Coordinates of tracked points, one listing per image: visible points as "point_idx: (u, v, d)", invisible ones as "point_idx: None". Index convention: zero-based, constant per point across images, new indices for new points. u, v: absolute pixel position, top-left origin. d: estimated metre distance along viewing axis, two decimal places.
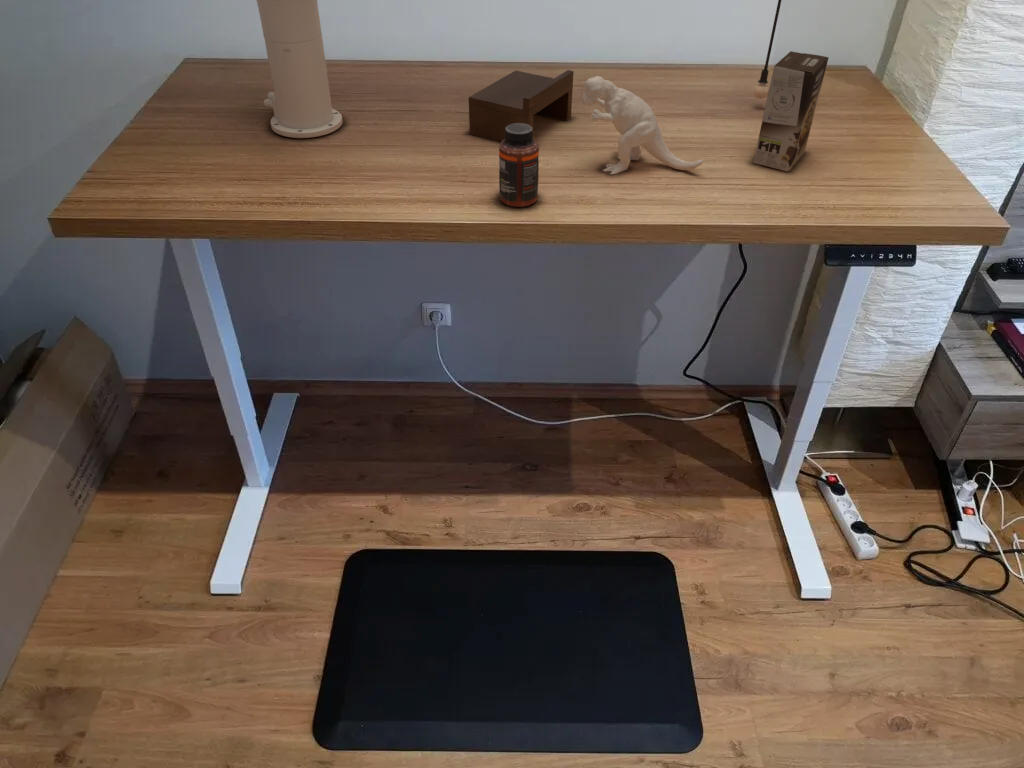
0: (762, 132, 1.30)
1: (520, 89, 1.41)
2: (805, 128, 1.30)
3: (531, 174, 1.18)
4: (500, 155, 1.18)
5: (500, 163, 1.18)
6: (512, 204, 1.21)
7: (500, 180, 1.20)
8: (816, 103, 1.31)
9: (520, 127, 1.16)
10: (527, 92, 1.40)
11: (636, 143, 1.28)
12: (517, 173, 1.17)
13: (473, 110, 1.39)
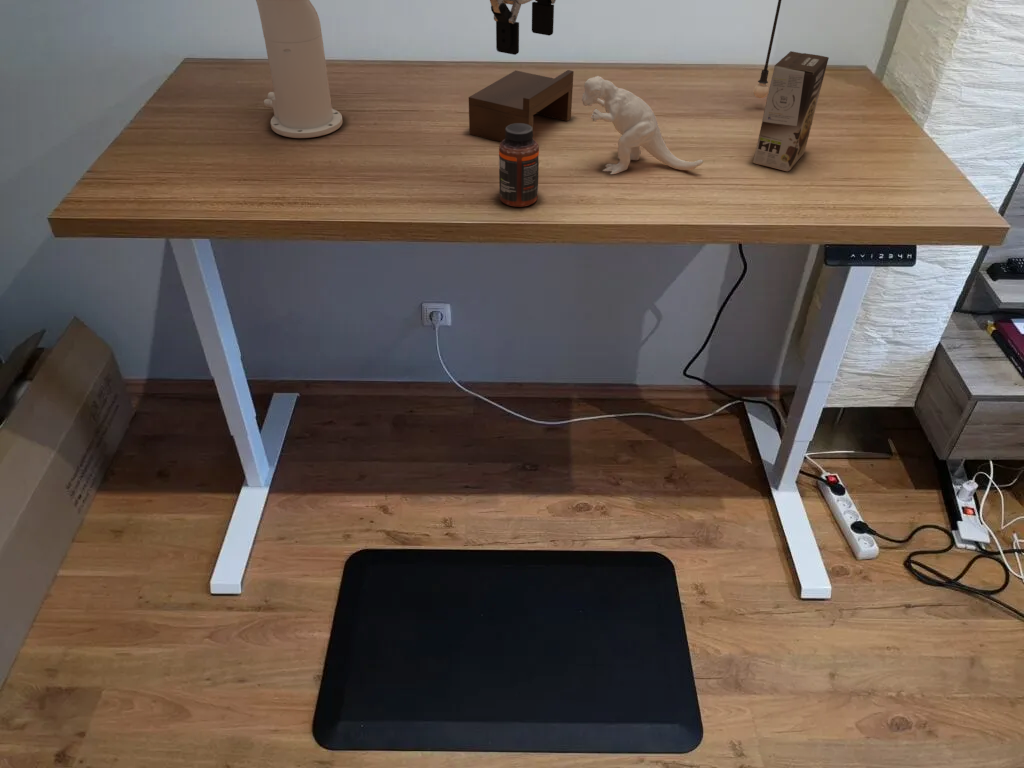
0: (762, 132, 1.30)
1: (520, 89, 1.41)
2: (805, 128, 1.30)
3: (531, 174, 1.18)
4: (500, 155, 1.18)
5: (500, 163, 1.18)
6: (512, 204, 1.21)
7: (500, 180, 1.20)
8: (816, 103, 1.31)
9: (520, 127, 1.16)
10: (527, 92, 1.40)
11: (636, 143, 1.28)
12: (517, 173, 1.17)
13: (473, 110, 1.39)
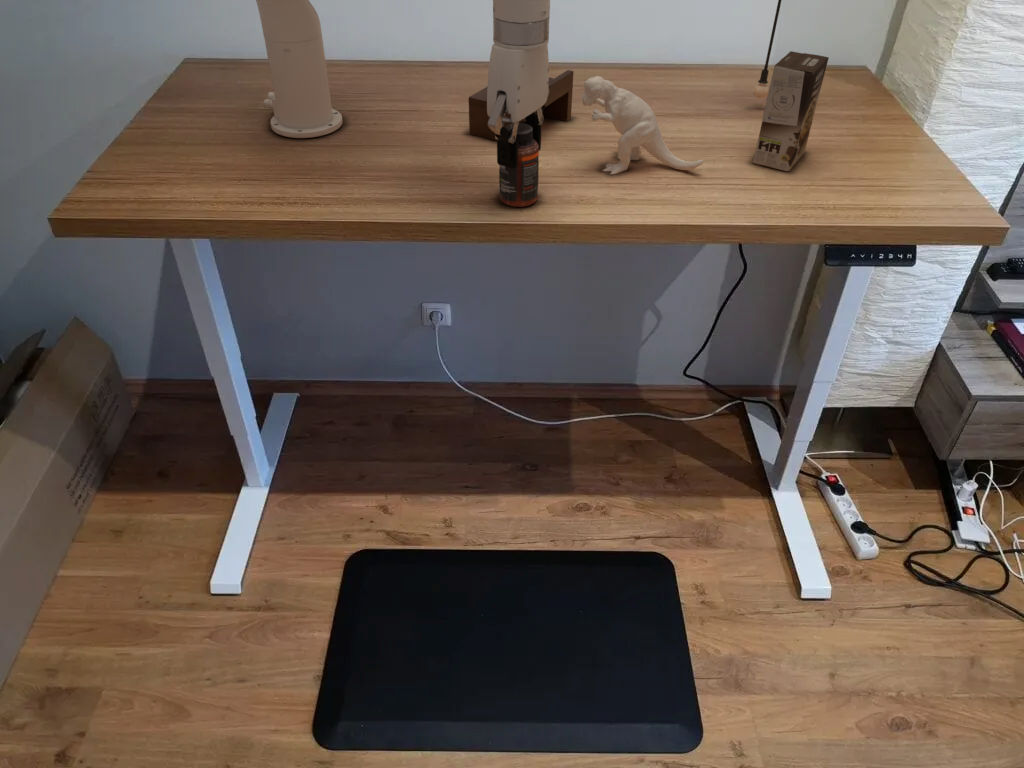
0: (762, 132, 1.30)
1: None
2: (805, 128, 1.30)
3: (531, 174, 1.18)
4: None
5: None
6: (512, 204, 1.21)
7: (500, 180, 1.20)
8: (816, 103, 1.31)
9: (520, 127, 1.16)
10: None
11: (636, 143, 1.28)
12: (517, 173, 1.17)
13: (473, 110, 1.39)
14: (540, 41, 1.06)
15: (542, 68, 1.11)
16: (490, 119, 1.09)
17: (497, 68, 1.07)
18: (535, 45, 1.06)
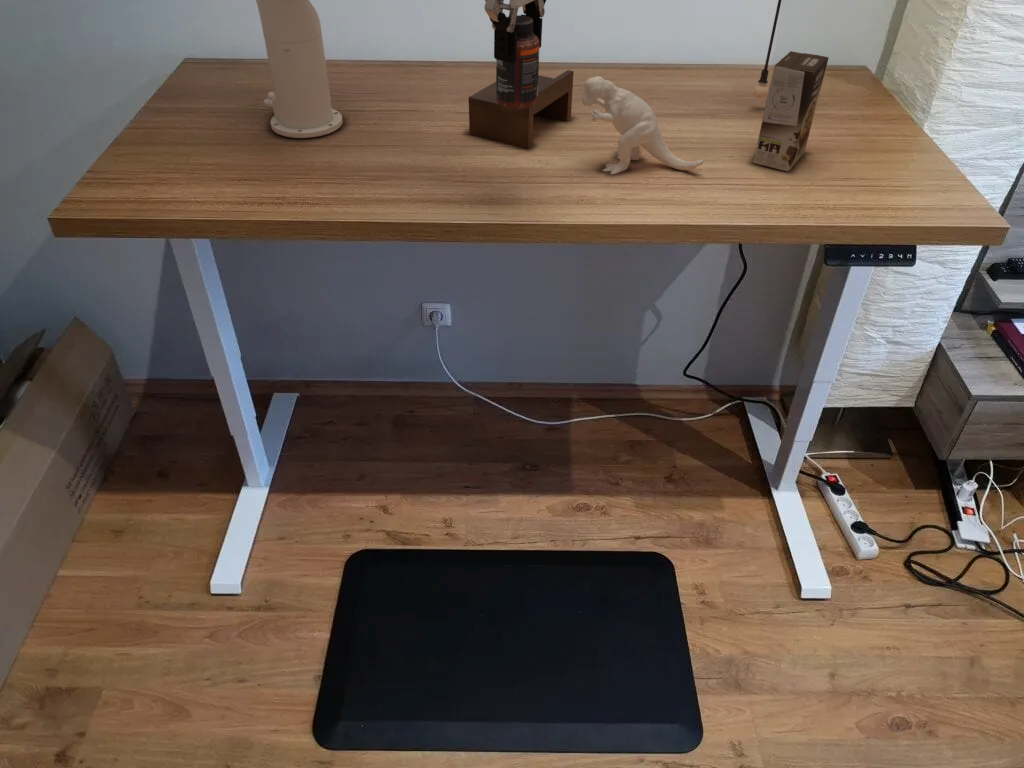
0: (762, 132, 1.30)
1: None
2: (805, 128, 1.30)
3: (531, 71, 1.10)
4: None
5: None
6: (509, 106, 1.12)
7: (497, 79, 1.11)
8: (816, 103, 1.31)
9: (519, 18, 1.07)
10: None
11: (636, 143, 1.28)
12: (516, 69, 1.09)
13: (473, 110, 1.39)
14: None
15: None
16: (487, 2, 1.00)
17: None
18: None
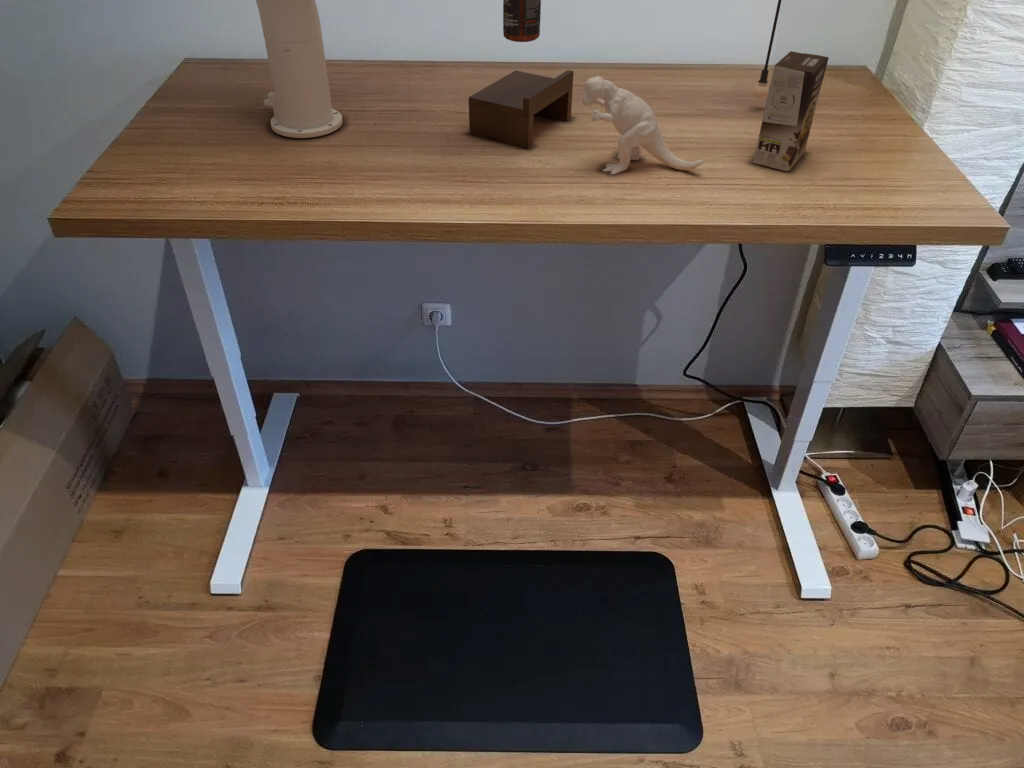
0: (762, 132, 1.30)
1: (520, 89, 1.41)
2: (805, 128, 1.30)
3: (534, 7, 1.24)
4: None
5: None
6: (515, 39, 1.27)
7: (504, 15, 1.26)
8: (816, 103, 1.31)
9: None
10: (527, 92, 1.40)
11: (636, 143, 1.28)
12: (520, 4, 1.23)
13: (473, 110, 1.39)
14: None
15: None
16: None
17: None
18: None
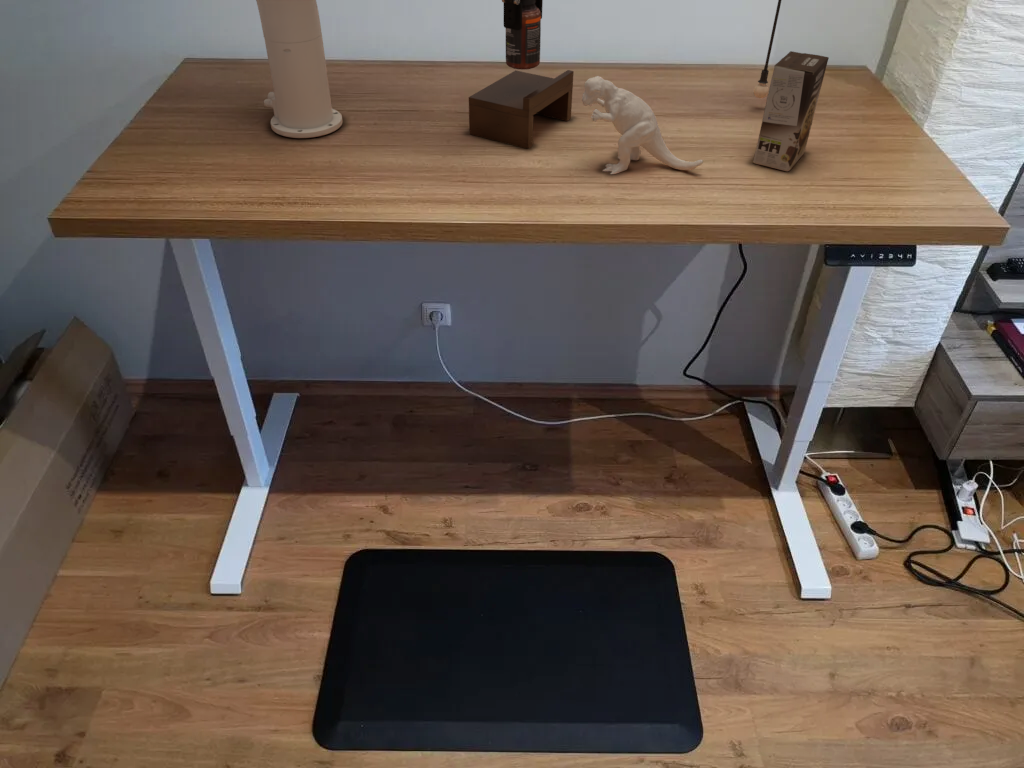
0: (762, 132, 1.30)
1: (520, 89, 1.41)
2: (805, 128, 1.30)
3: (534, 37, 1.33)
4: None
5: (506, 28, 1.33)
6: (517, 66, 1.36)
7: (506, 45, 1.35)
8: (816, 103, 1.31)
9: None
10: (527, 92, 1.40)
11: (636, 143, 1.28)
12: (522, 35, 1.32)
13: (473, 110, 1.39)
14: None
15: None
16: None
17: None
18: None
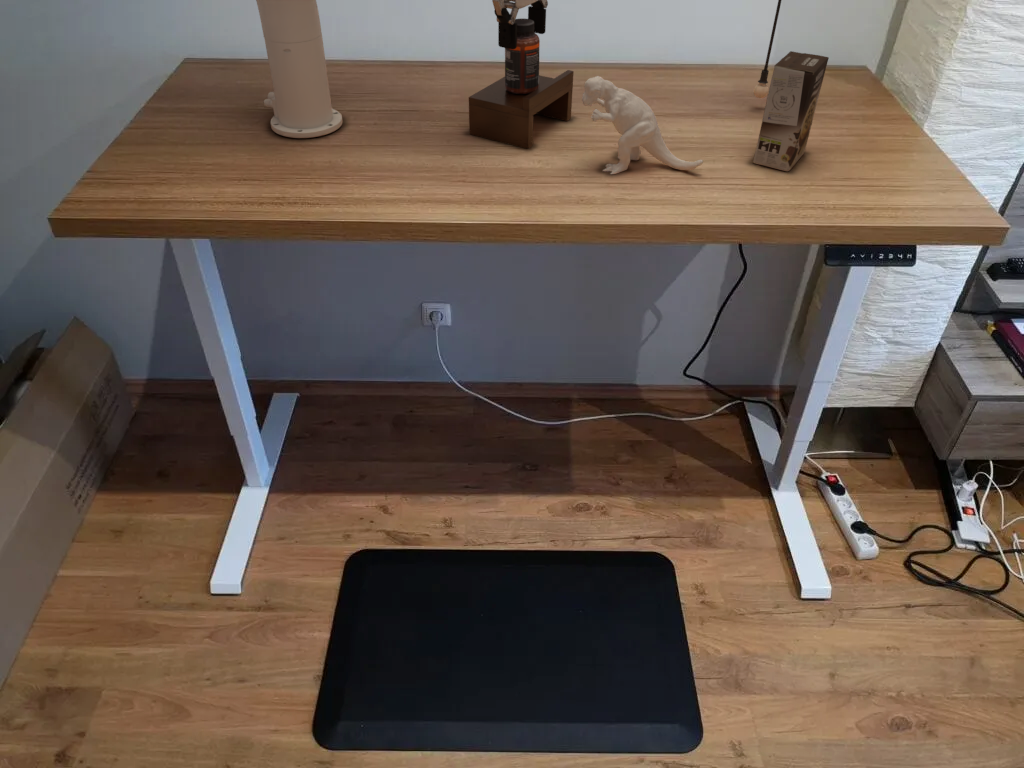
0: (762, 132, 1.30)
1: None
2: (805, 128, 1.30)
3: (533, 63, 1.36)
4: None
5: (506, 54, 1.36)
6: (516, 91, 1.38)
7: (506, 70, 1.38)
8: (816, 103, 1.31)
9: (523, 21, 1.34)
10: None
11: (636, 143, 1.28)
12: (521, 61, 1.35)
13: (473, 110, 1.39)
14: None
15: None
16: None
17: None
18: None
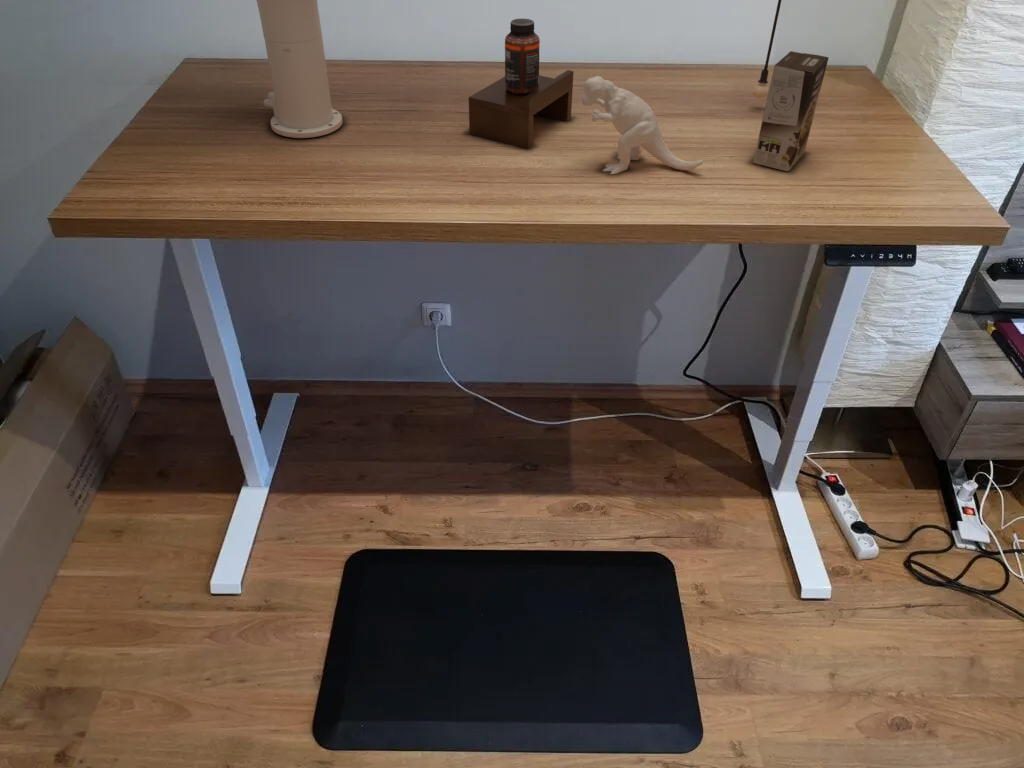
0: (762, 132, 1.30)
1: None
2: (805, 128, 1.30)
3: (533, 63, 1.36)
4: (506, 46, 1.35)
5: (506, 54, 1.36)
6: (516, 91, 1.38)
7: (506, 70, 1.38)
8: (816, 103, 1.31)
9: (523, 21, 1.34)
10: None
11: (636, 143, 1.28)
12: (521, 61, 1.35)
13: (473, 110, 1.39)
14: None
15: None
16: None
17: None
18: None
